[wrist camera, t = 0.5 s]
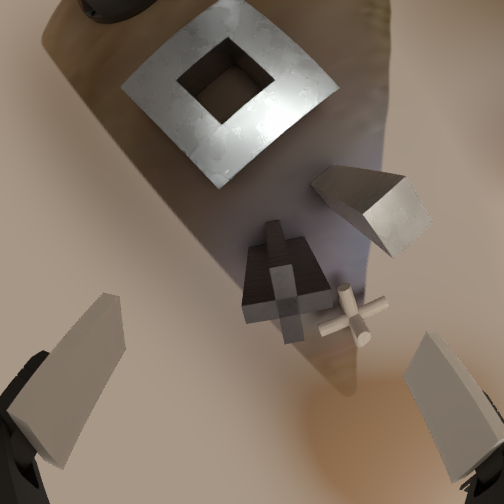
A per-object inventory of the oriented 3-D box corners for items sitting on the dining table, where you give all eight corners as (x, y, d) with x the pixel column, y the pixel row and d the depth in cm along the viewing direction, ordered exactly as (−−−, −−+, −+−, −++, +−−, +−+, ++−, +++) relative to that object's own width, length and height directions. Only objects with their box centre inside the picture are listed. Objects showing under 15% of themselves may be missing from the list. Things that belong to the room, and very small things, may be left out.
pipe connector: (323, 336, 43) (336, 378, 34) (302, 285, 40) (314, 323, 31) (380, 311, 42) (405, 348, 32) (365, 258, 39) (393, 288, 29)
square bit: (309, 183, 36) (362, 214, 17) (332, 164, 35) (406, 176, 16) (328, 206, 37) (393, 258, 18) (350, 188, 36) (433, 222, 17)
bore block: (149, 100, 32) (120, 87, 24) (238, 24, 29) (232, -8, 20) (228, 181, 36) (219, 189, 27) (321, 103, 32) (339, 87, 24)
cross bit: (244, 226, 38) (233, 275, 23) (300, 215, 37) (327, 256, 22) (255, 278, 40) (253, 349, 25) (309, 268, 40) (335, 334, 24)
